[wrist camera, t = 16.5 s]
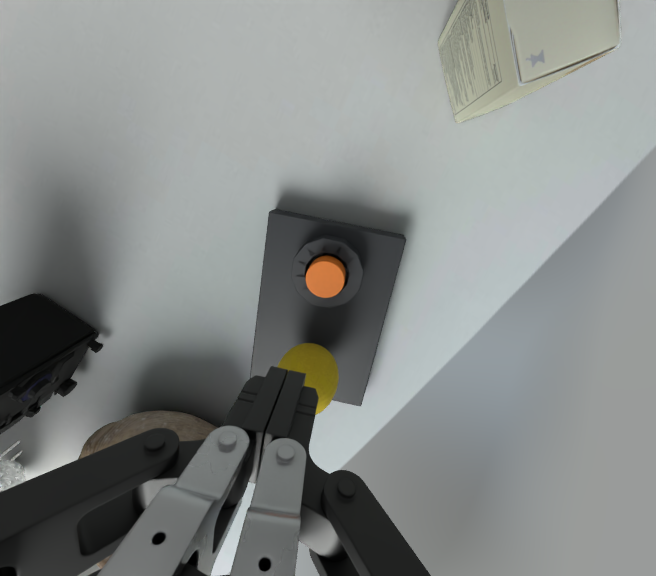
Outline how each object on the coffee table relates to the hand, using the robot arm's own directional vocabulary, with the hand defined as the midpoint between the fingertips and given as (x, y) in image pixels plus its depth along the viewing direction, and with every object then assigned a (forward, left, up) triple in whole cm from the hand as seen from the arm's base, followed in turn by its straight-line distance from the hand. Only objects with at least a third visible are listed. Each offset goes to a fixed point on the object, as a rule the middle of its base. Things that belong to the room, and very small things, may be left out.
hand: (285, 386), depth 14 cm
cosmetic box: (-8, -17, -19) cm, 27 cm away
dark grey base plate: (0, +5, -19) cm, 20 cm away
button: (0, 0, -16) cm, 16 cm away
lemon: (0, +9, -17) cm, 19 cm away
